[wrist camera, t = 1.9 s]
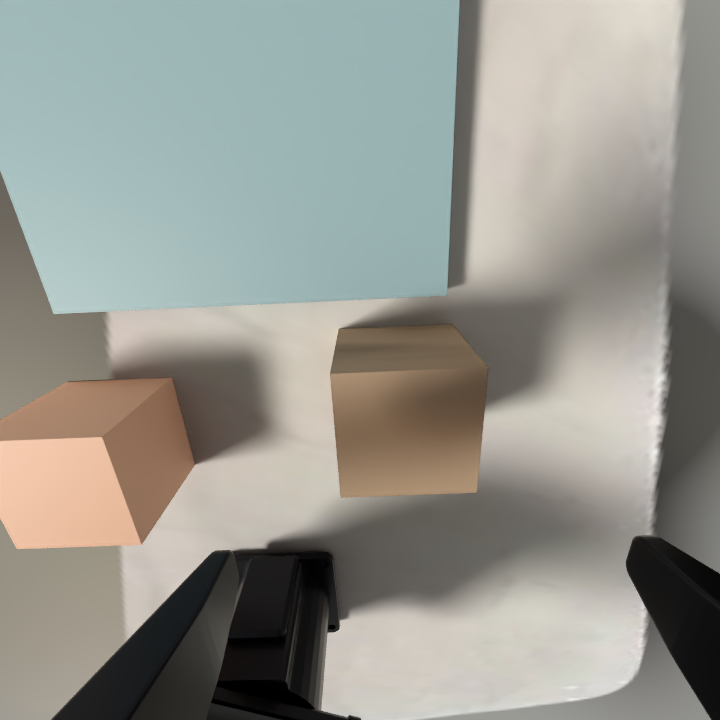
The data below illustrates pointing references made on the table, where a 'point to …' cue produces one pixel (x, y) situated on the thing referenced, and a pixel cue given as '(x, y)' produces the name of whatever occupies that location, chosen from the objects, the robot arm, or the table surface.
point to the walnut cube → (407, 410)
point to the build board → (230, 148)
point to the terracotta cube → (92, 463)
